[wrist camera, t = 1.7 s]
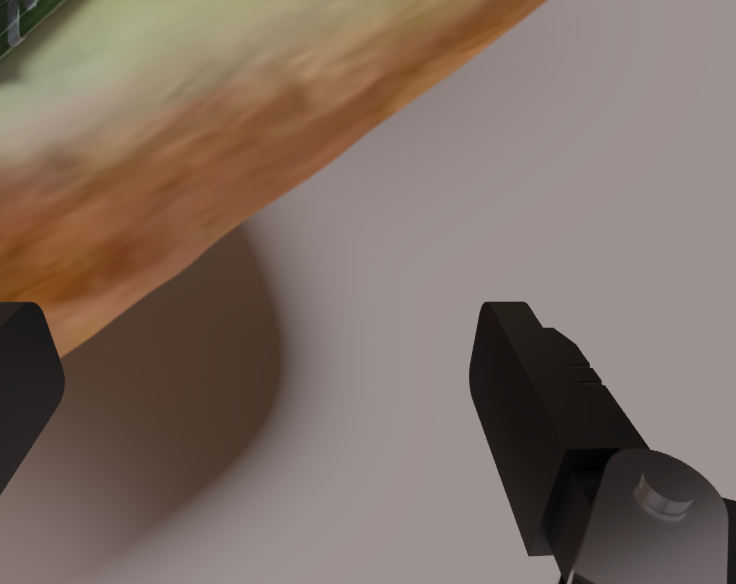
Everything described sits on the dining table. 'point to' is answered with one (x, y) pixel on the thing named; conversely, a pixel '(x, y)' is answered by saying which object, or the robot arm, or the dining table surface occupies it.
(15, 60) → the dining table surface
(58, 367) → the robot arm
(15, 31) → the pistol
